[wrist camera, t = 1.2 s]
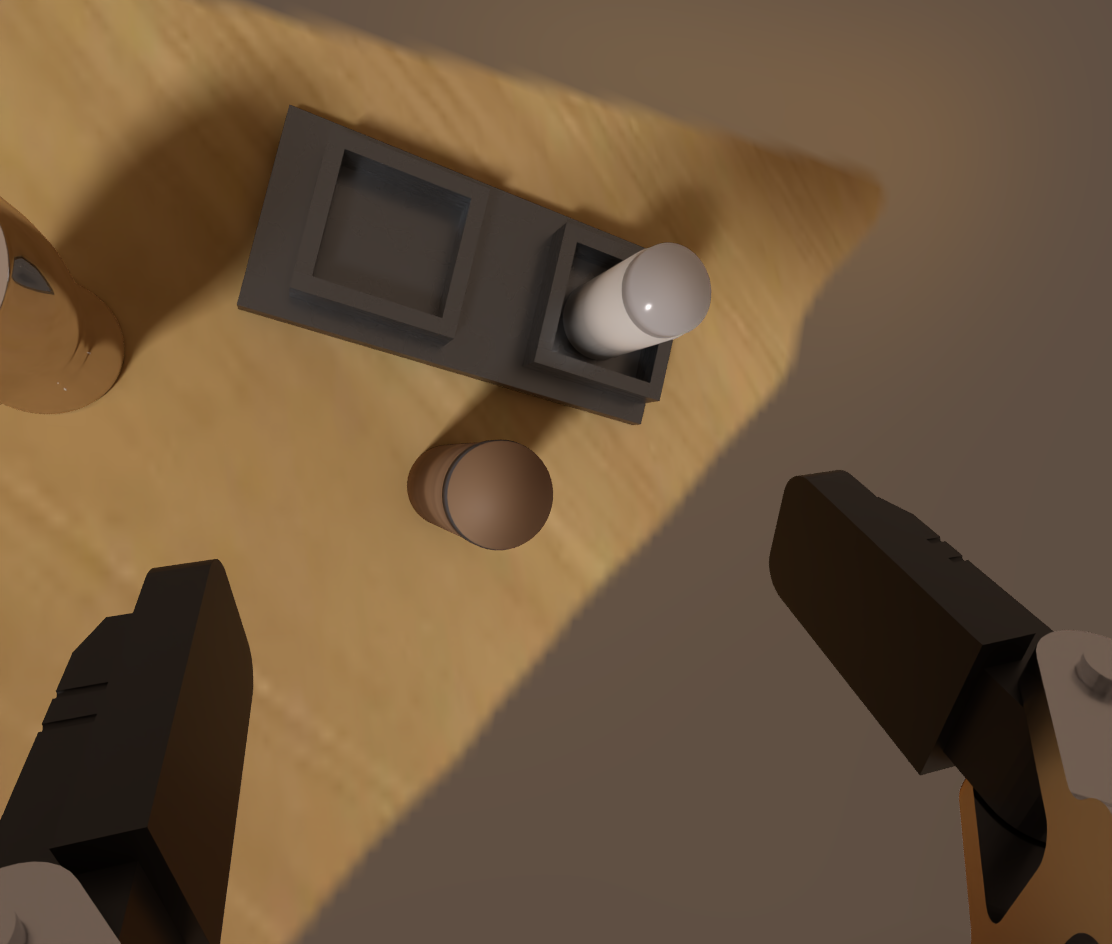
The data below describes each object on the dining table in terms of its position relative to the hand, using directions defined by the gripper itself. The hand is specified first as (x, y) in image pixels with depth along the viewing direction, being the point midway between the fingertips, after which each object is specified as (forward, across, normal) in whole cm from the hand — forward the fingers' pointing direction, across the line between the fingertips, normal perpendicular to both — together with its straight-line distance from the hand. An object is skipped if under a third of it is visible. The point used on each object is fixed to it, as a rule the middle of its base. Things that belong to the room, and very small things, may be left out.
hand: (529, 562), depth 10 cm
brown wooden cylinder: (+24, -1, +14) cm, 28 cm away
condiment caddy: (+30, -4, +5) cm, 30 cm away
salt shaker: (+28, -10, +7) cm, 31 cm away
